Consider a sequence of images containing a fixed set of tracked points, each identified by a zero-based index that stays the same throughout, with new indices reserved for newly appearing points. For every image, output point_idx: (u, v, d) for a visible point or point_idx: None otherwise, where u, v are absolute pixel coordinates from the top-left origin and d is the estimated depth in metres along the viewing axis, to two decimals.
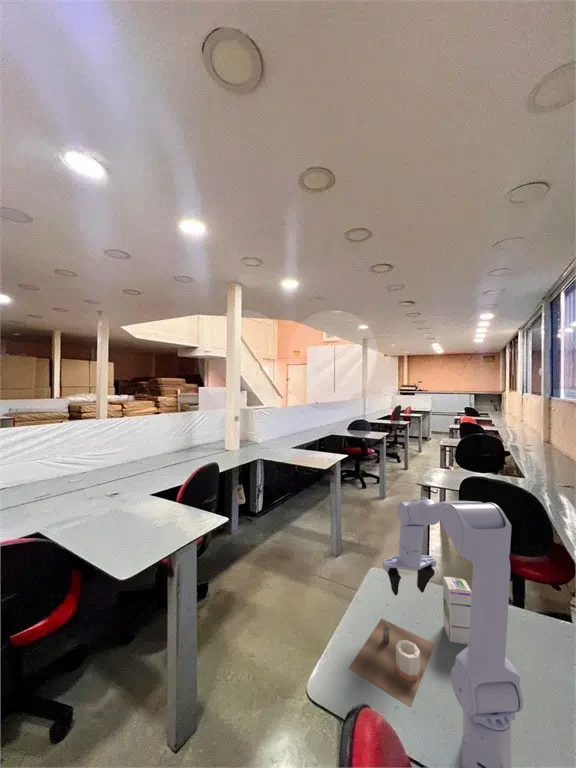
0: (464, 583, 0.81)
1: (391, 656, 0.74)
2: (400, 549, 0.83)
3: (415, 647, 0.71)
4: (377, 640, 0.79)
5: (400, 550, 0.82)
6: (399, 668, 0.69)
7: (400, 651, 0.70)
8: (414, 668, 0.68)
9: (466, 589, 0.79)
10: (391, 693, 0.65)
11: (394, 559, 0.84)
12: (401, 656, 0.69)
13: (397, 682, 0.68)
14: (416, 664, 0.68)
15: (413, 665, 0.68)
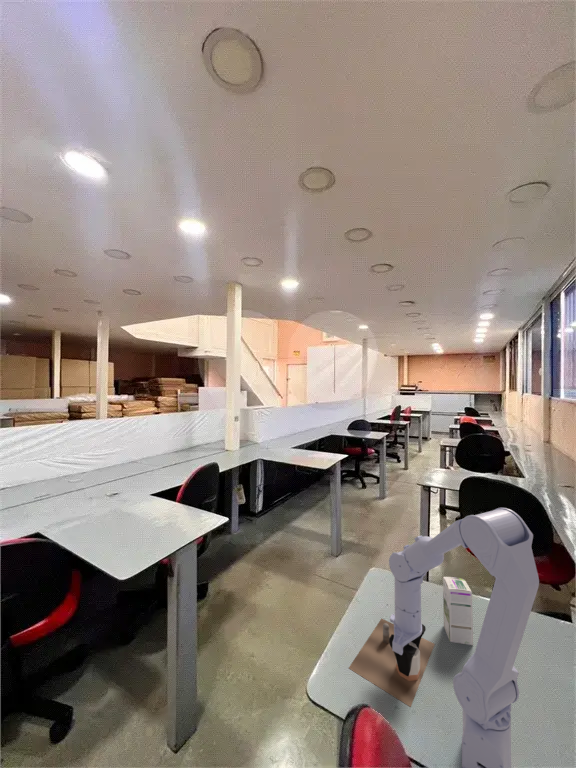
0: (464, 583, 0.81)
1: (391, 656, 0.74)
2: (403, 616, 0.69)
3: (415, 647, 0.71)
4: (377, 640, 0.79)
5: (404, 617, 0.69)
6: None
7: None
8: (414, 668, 0.68)
9: (466, 589, 0.79)
10: (391, 693, 0.65)
11: (396, 632, 0.69)
12: None
13: (397, 682, 0.68)
14: (416, 664, 0.68)
15: (413, 665, 0.68)
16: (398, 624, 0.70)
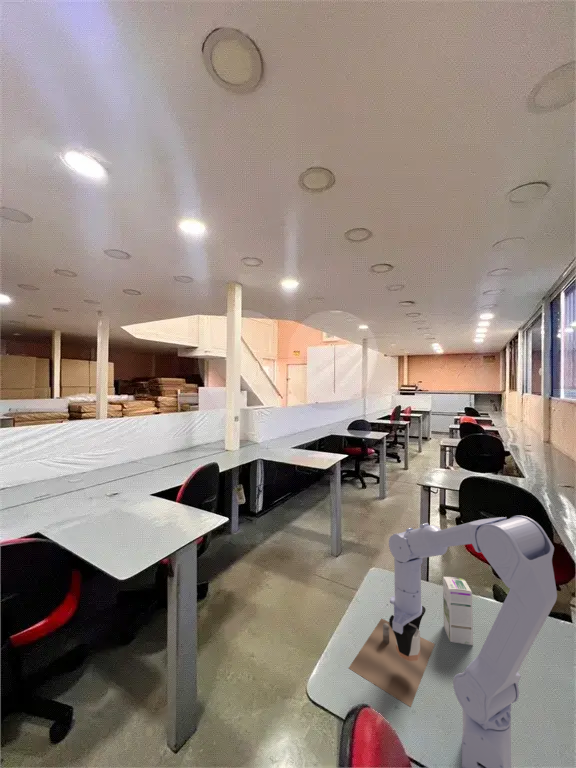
0: (464, 583, 0.81)
1: (391, 656, 0.74)
2: (403, 596, 0.69)
3: None
4: (377, 640, 0.79)
5: (404, 598, 0.69)
6: None
7: None
8: (414, 648, 0.68)
9: (466, 589, 0.79)
10: (391, 693, 0.65)
11: (396, 613, 0.69)
12: None
13: (397, 682, 0.68)
14: (416, 644, 0.68)
15: (413, 645, 0.68)
16: (398, 605, 0.70)
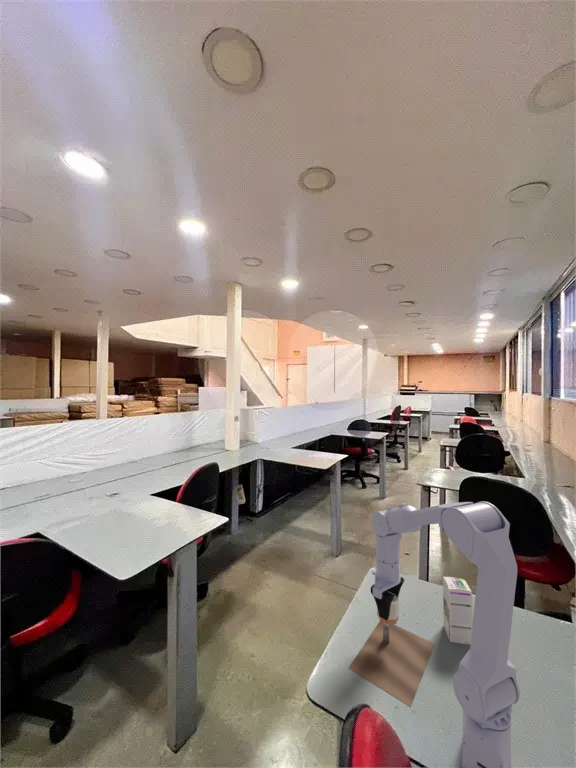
0: (464, 583, 0.81)
1: (391, 656, 0.74)
2: (383, 567, 0.76)
3: (394, 596, 0.79)
4: (377, 640, 0.79)
5: (384, 568, 0.76)
6: None
7: None
8: (392, 613, 0.76)
9: (466, 589, 0.79)
10: (391, 693, 0.65)
11: (377, 582, 0.76)
12: None
13: (397, 682, 0.68)
14: (394, 610, 0.76)
15: (392, 611, 0.76)
16: (379, 575, 0.77)
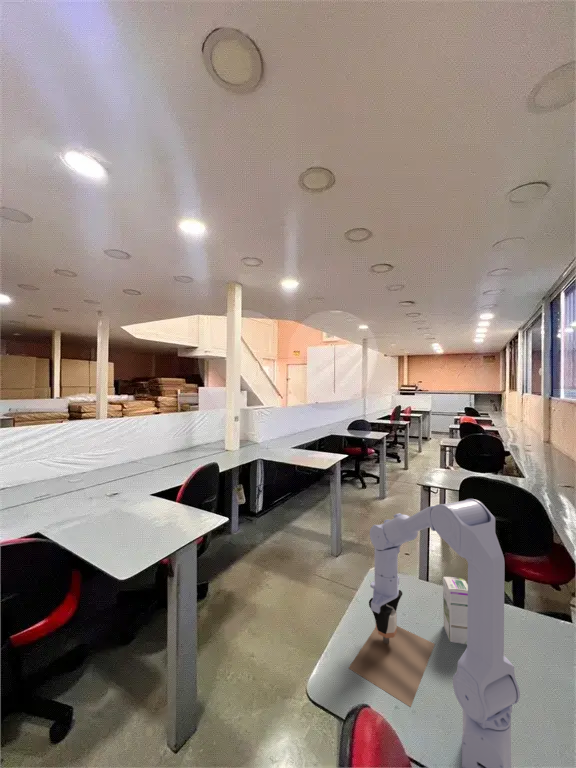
0: (464, 583, 0.81)
1: (391, 656, 0.74)
2: (381, 580, 0.77)
3: None
4: (377, 640, 0.79)
5: (382, 582, 0.77)
6: None
7: None
8: (391, 626, 0.77)
9: (466, 589, 0.79)
10: (391, 693, 0.65)
11: (375, 595, 0.77)
12: None
13: (397, 682, 0.68)
14: (393, 623, 0.77)
15: (390, 624, 0.77)
16: (377, 588, 0.78)
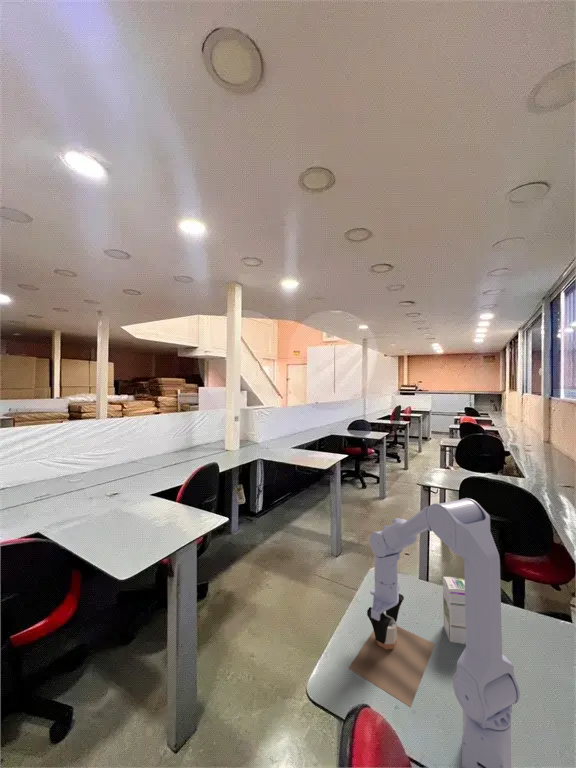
0: (464, 583, 0.81)
1: (391, 656, 0.74)
2: (381, 587, 0.77)
3: (393, 620, 0.79)
4: None
5: (382, 589, 0.77)
6: None
7: None
8: (391, 638, 0.76)
9: None
10: (391, 693, 0.65)
11: (375, 602, 0.77)
12: None
13: (397, 682, 0.68)
14: (393, 634, 0.77)
15: (390, 635, 0.76)
16: (377, 595, 0.78)
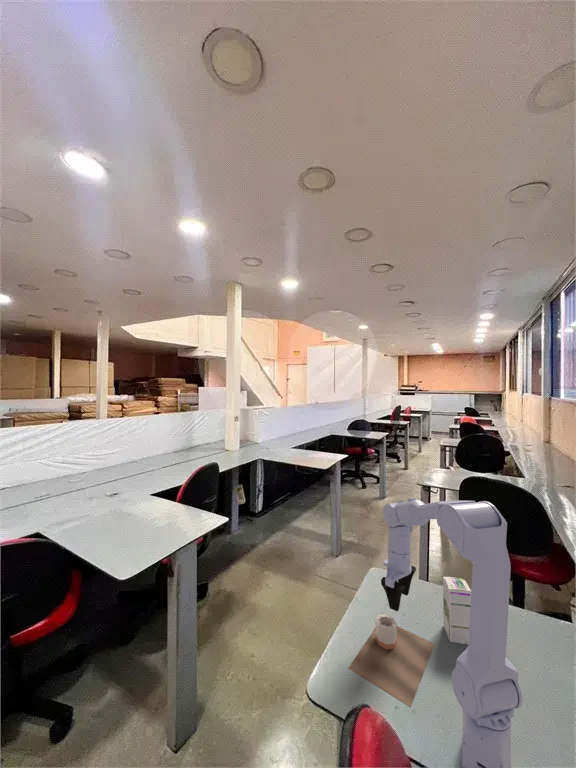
0: (464, 583, 0.81)
1: (391, 656, 0.74)
2: (394, 557, 0.79)
3: (393, 620, 0.79)
4: None
5: (395, 559, 0.79)
6: (378, 639, 0.78)
7: (379, 623, 0.78)
8: (391, 638, 0.76)
9: (466, 589, 0.79)
10: (391, 693, 0.65)
11: (389, 572, 0.79)
12: (380, 628, 0.77)
13: (397, 682, 0.68)
14: (393, 634, 0.77)
15: (390, 635, 0.76)
16: (390, 565, 0.80)
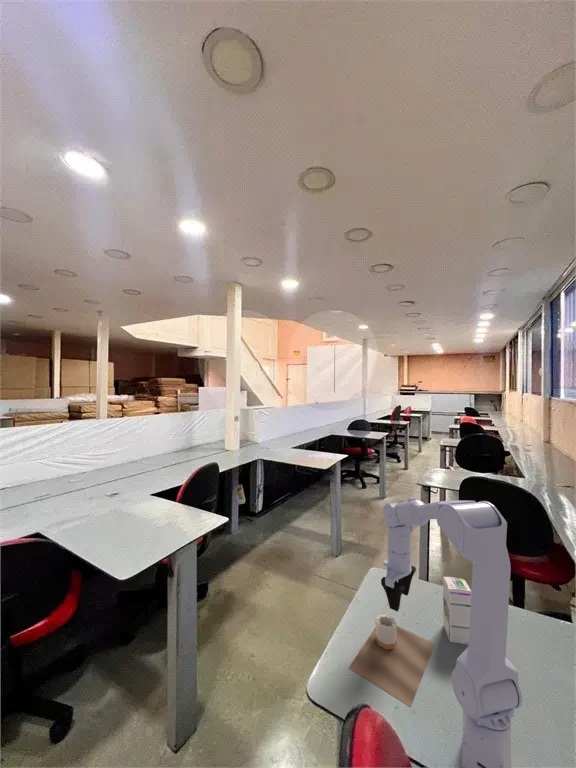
0: (464, 583, 0.81)
1: (391, 656, 0.74)
2: (394, 557, 0.79)
3: (393, 620, 0.79)
4: None
5: (395, 559, 0.79)
6: (378, 639, 0.78)
7: (379, 623, 0.78)
8: (391, 638, 0.76)
9: (466, 589, 0.79)
10: (391, 693, 0.65)
11: (389, 572, 0.79)
12: (380, 628, 0.77)
13: (397, 682, 0.68)
14: (393, 634, 0.77)
15: (390, 635, 0.76)
16: (390, 565, 0.80)
